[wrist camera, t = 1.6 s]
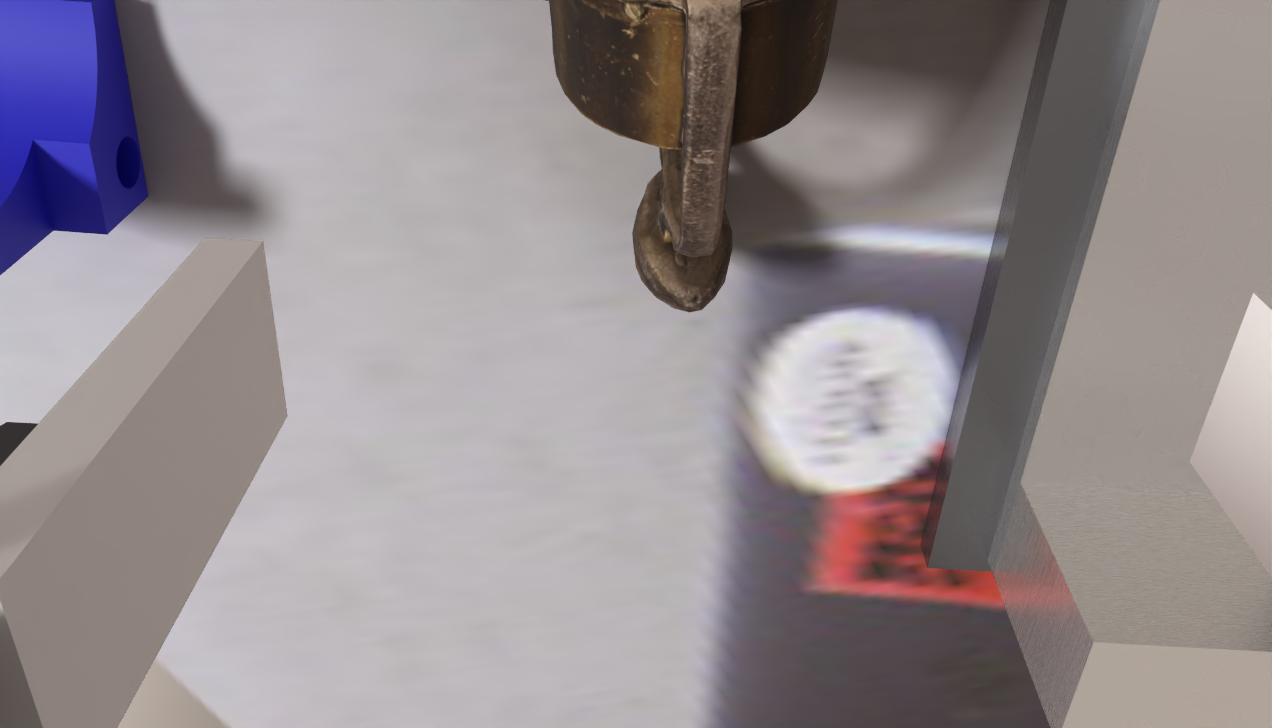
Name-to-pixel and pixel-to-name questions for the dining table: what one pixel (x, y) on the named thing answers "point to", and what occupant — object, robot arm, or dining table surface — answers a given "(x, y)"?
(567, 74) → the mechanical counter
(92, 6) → the cable clip
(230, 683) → the dining table surface
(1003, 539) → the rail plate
